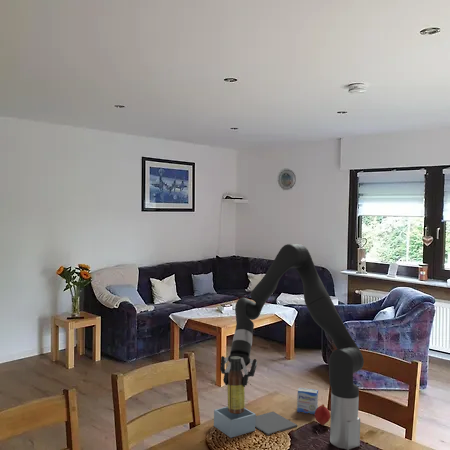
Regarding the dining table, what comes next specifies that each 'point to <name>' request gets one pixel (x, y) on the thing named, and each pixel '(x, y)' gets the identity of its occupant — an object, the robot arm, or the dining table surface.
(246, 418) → the tub
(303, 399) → the medicine box
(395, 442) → the dining table surface
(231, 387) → the sauce bottle
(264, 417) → the mat
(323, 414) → the onion
